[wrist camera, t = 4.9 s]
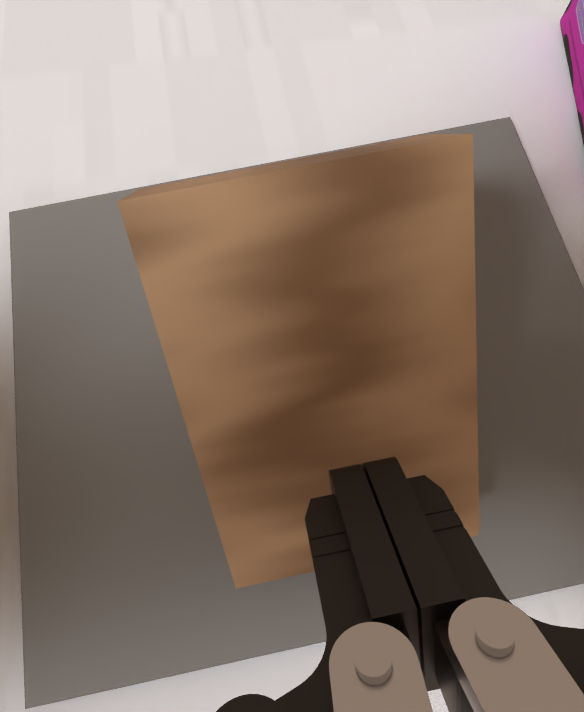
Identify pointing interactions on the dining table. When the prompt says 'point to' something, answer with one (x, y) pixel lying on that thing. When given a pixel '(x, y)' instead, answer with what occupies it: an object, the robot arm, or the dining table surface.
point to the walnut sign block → (317, 330)
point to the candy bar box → (575, 52)
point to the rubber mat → (179, 465)
